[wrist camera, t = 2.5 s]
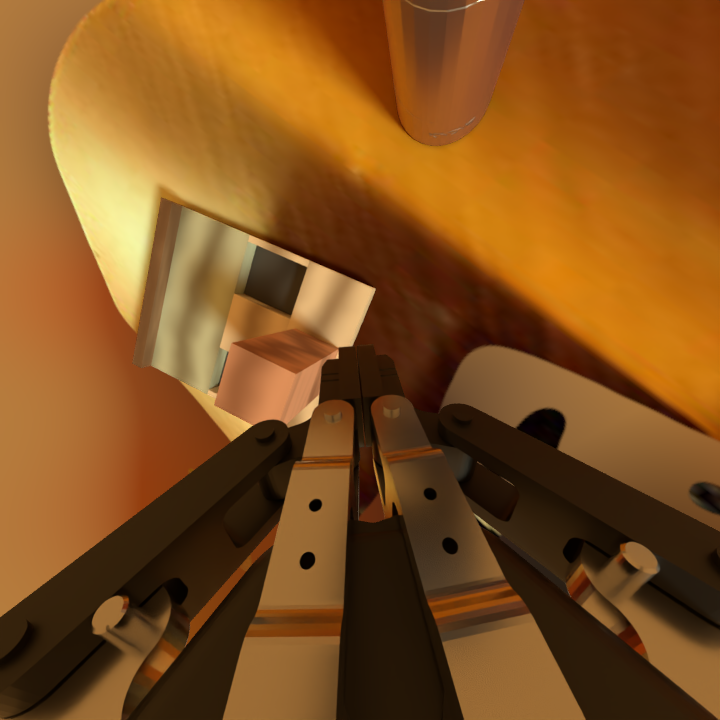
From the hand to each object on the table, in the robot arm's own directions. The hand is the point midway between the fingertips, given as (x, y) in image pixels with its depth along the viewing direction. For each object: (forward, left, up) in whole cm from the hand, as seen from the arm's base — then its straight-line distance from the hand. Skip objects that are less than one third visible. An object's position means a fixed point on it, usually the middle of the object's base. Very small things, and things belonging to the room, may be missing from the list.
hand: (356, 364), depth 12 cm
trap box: (-3, -19, -22) cm, 30 cm away
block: (+2, -11, -20) cm, 23 cm away
